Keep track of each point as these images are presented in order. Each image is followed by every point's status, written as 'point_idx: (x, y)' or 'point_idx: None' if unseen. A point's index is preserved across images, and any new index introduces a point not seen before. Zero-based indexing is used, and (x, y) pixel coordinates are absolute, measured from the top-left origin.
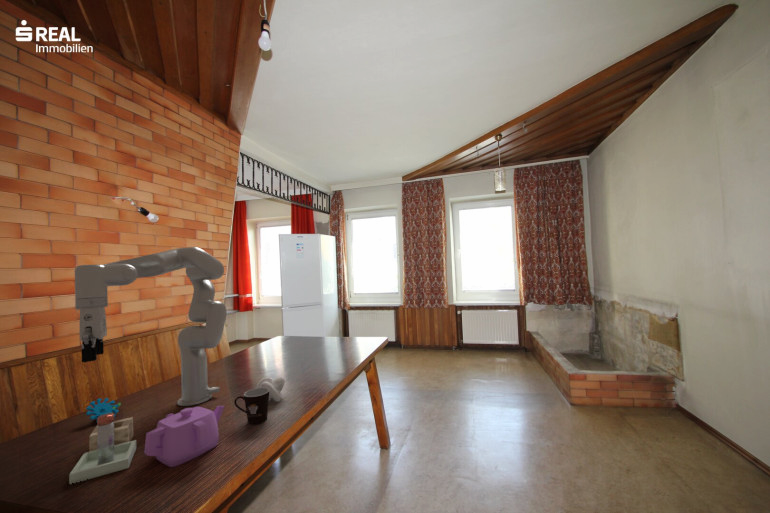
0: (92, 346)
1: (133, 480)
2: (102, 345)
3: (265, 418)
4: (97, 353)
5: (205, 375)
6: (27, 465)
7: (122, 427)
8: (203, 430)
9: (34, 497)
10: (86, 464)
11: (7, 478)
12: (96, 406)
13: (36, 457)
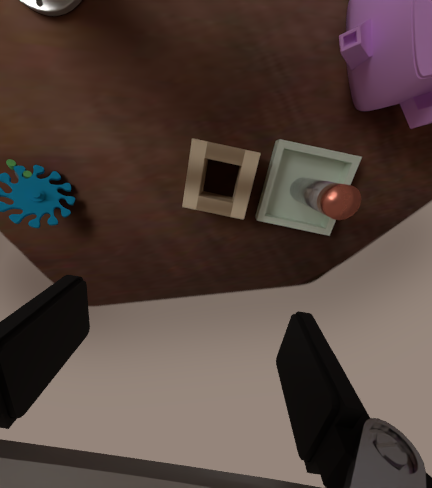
0: (410, 453)
1: (409, 152)
2: (29, 322)
3: None
4: (82, 307)
5: None
6: (196, 278)
7: (249, 162)
8: None
9: (319, 262)
10: (279, 214)
11: (222, 292)
12: (30, 209)
13: (173, 272)
